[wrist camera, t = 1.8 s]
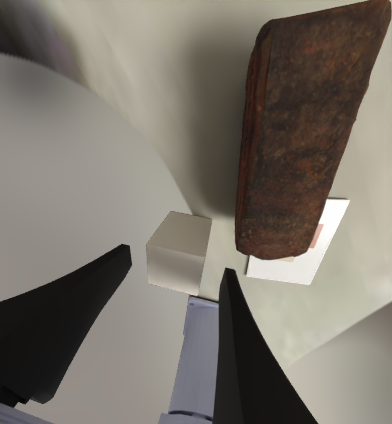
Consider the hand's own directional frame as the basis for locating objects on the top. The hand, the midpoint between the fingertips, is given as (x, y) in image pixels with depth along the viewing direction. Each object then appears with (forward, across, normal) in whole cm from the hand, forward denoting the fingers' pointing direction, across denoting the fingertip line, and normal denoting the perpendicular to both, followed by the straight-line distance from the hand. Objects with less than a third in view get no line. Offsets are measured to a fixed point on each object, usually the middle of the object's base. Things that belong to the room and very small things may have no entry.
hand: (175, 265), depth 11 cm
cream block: (+4, 0, 0) cm, 5 cm away
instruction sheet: (+4, -9, -1) cm, 10 cm away
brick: (+4, -5, -7) cm, 10 cm away
